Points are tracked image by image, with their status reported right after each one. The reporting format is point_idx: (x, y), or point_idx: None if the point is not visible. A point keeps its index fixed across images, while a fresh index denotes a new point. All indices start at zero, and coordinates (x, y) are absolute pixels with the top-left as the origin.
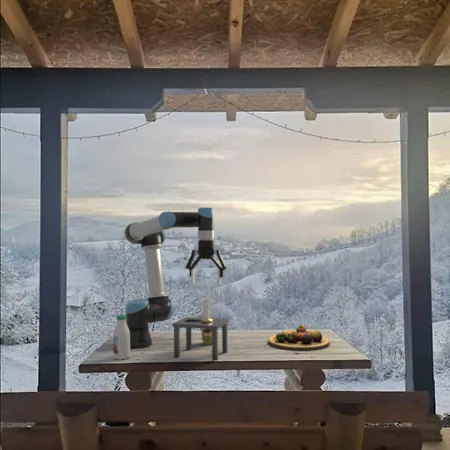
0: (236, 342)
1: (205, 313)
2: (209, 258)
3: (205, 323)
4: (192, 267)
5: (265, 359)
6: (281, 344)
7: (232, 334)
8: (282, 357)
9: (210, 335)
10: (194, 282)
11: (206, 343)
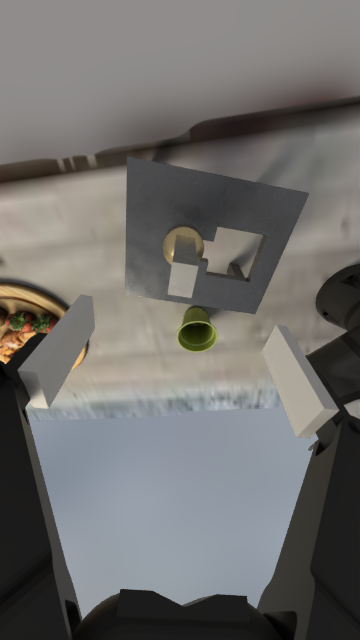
0: (144, 328)
1: (185, 243)
2: (96, 612)
3: (182, 210)
4: (342, 440)
5: (37, 196)
6: (41, 300)
7: (164, 374)
8: (8, 220)
9: None
10: (265, 351)
11: (199, 308)
